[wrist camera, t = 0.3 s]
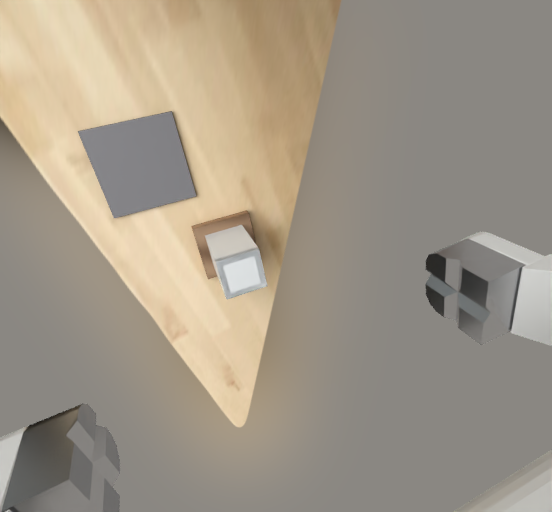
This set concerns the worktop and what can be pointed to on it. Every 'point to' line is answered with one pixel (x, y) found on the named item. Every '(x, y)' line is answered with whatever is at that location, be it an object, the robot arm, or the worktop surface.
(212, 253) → the sleeve lid
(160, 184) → the rubber mat
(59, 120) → the worktop surface
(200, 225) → the square wooden plinth
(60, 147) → the worktop surface
